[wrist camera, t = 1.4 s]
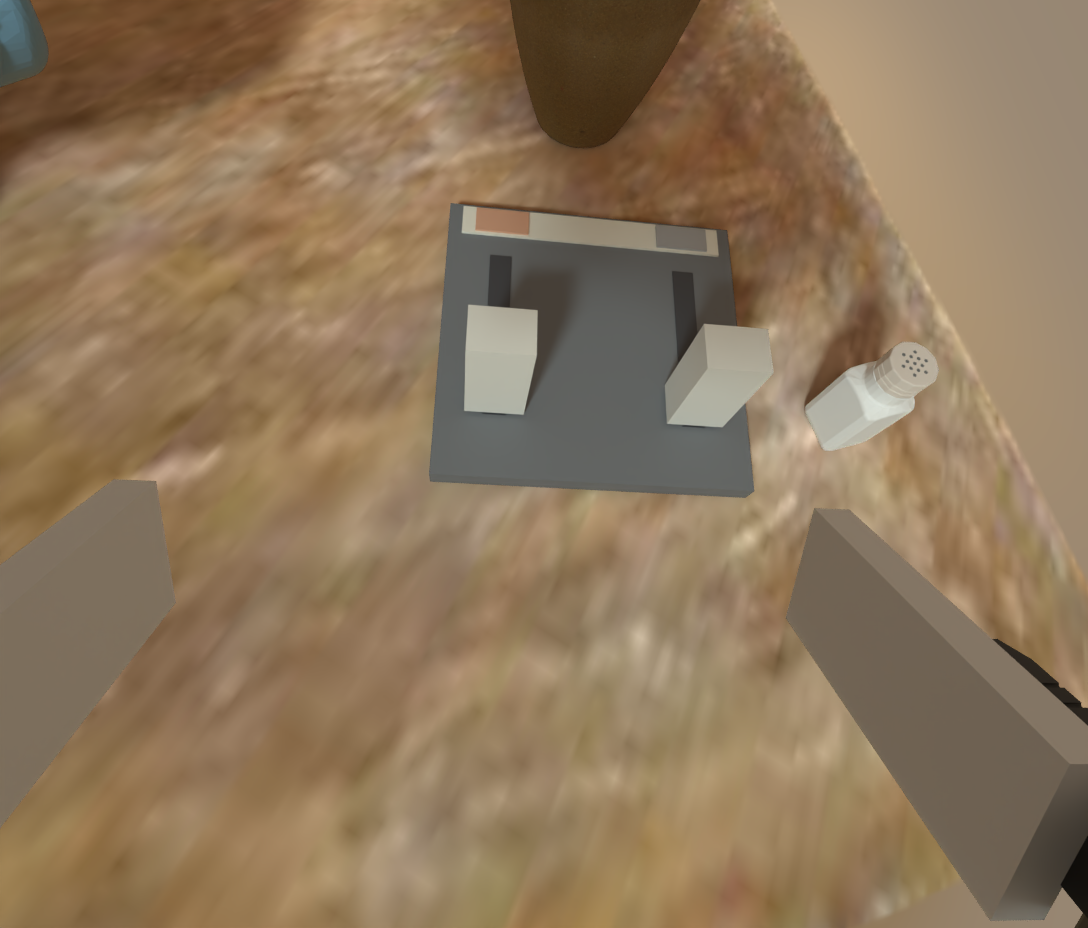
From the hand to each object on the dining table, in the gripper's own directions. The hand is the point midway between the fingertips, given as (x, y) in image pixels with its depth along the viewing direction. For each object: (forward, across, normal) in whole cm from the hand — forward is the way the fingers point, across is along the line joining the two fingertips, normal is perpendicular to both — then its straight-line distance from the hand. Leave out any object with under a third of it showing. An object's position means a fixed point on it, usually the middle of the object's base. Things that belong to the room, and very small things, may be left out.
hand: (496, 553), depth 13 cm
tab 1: (+32, 0, -6) cm, 32 cm away
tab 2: (+32, +14, -6) cm, 35 cm away
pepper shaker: (+34, +26, -8) cm, 43 cm away
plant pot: (+52, +6, +13) cm, 54 cm away
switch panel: (+36, +7, -4) cm, 37 cm away
